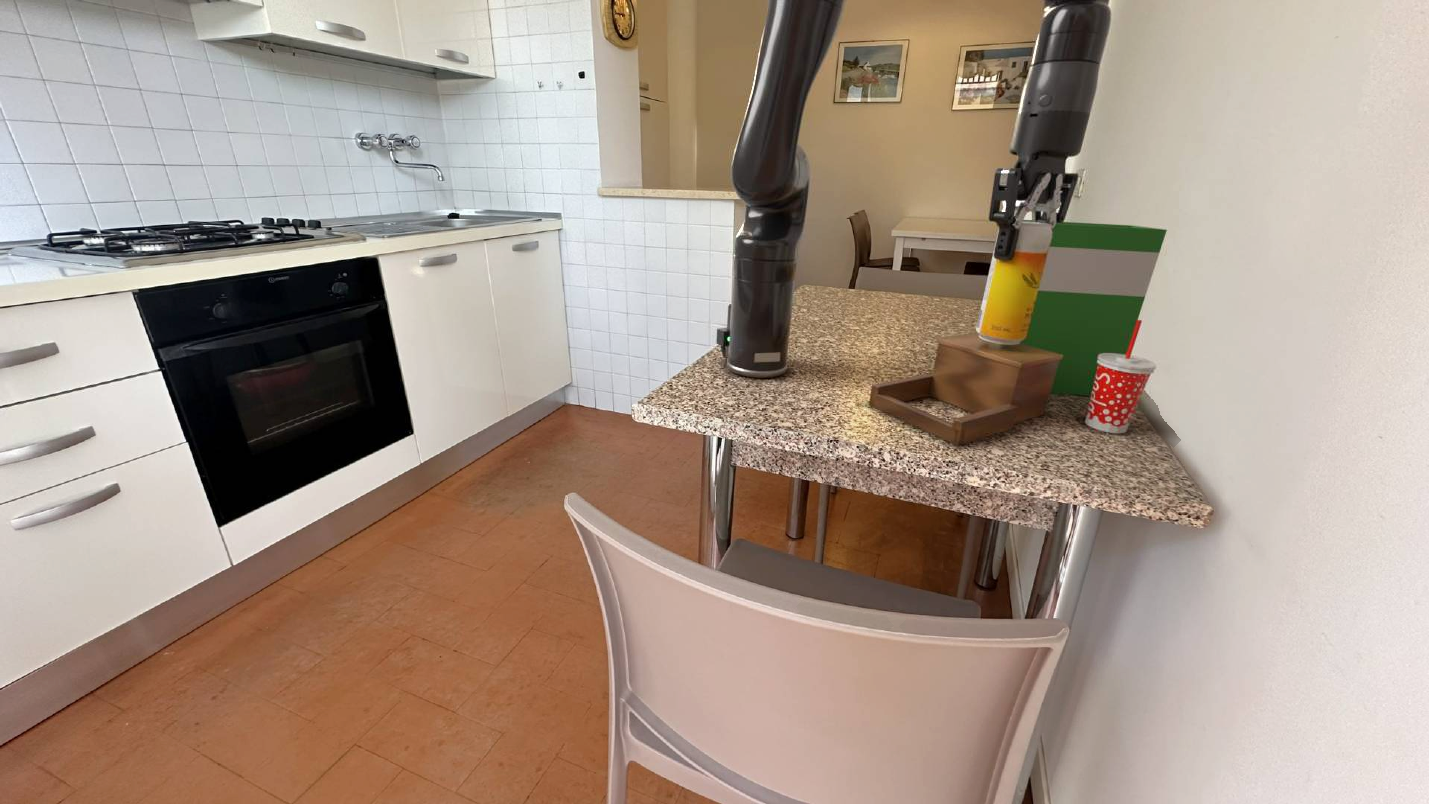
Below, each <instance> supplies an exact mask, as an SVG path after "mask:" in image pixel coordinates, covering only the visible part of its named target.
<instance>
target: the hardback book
mask: <svg viewBox="0 0 1429 804" xmlns="http://www.w3.org/2000/svg"><path fill="white" fill-rule="evenodd" d="M1023 221H1027V222H1032V219H1023ZM1051 229H1052V234H1053V235H1052V239H1051V243H1050V247H1049V250H1048V254H1047V258H1046V262H1045V266H1044V270H1043V274H1042V277H1041V281H1040V285H1039V289H1038V293H1037V297H1036V301H1035V305H1034V308H1033V312H1032V316H1031V320H1030V324H1029V328H1028V332H1027V336H1026V338H1025V339H1023V340H1022V341H1020V343H1021V344H1025V345H1028V346H1032V347H1036V348H1039V349H1043V350H1047V351H1051V352H1054V353H1058V354H1062V355H1063V358H1062V359H1060V360H1059V364H1058V367H1057V371H1056V375H1055V378H1054V382H1053V385H1052V389H1051V392H1050V394H1062V395H1063V394H1064V395H1078V396H1091V394H1092V390H1093V385H1094V381H1095V377H1096V372H1097V368H1098V363H1097V360H1098V355H1099V354H1102V353H1116V354H1124V355H1126V354H1127V351H1128V348H1129V344H1130V341H1131V338H1132V335H1133V332H1134V329H1135V326H1136V323H1137V320H1139V317H1140V314H1141V311H1142V308H1143V305H1144V302H1145V299H1146V296H1147V292H1148V290H1149V287H1150V284H1151V280H1152V277H1153V274H1154V271H1155V268H1156V264H1157V262H1158V260H1159V255H1160V253H1161V249H1162V246H1163V243H1164V240H1165V237H1166V233H1167V231H1168V230H1167V229H1166V228H1165V229H1164V228H1158V227H1157V228H1156V227H1148V226H1141V225H1129V224H1113V223H1112V224H1111V223H1093V222H1076V221H1073V222H1072V221H1064V222H1063V223H1056V225H1055V227H1054V228H1051Z"/></svg>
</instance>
